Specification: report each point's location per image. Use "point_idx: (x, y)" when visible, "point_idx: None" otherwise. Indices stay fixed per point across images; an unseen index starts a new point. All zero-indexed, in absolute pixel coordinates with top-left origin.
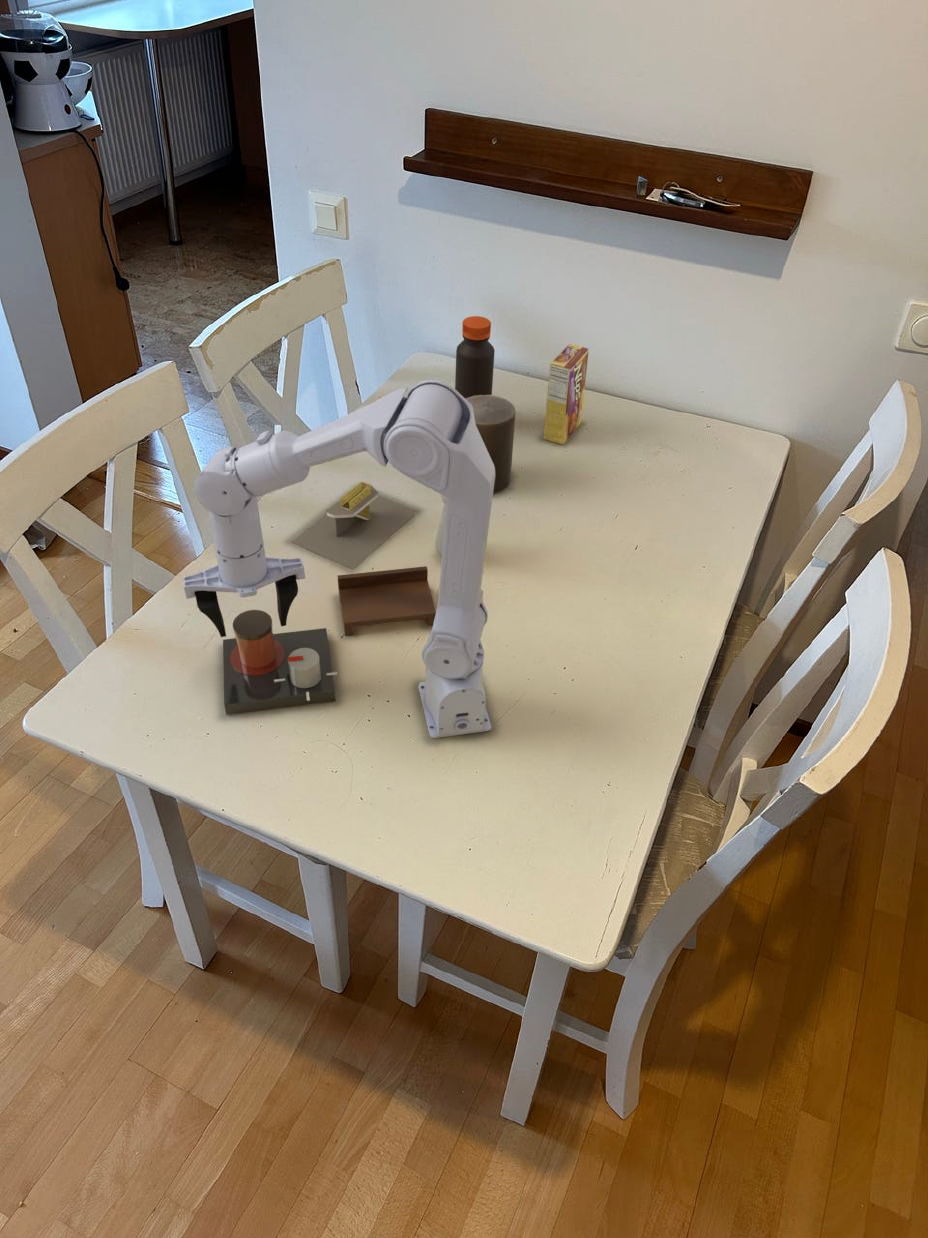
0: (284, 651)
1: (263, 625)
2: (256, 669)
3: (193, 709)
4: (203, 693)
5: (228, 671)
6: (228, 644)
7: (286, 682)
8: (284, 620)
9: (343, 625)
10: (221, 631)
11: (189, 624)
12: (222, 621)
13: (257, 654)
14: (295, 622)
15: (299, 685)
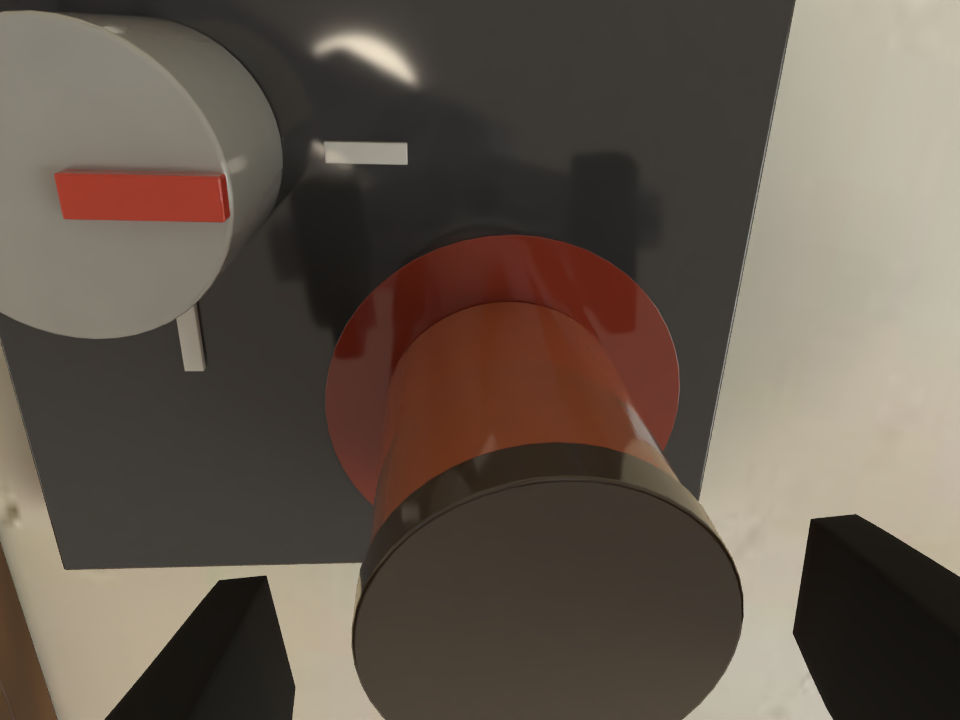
0: (327, 419)
1: (441, 599)
2: (524, 289)
3: (931, 83)
4: (840, 210)
5: (706, 305)
6: None
7: (314, 124)
8: (190, 636)
9: (9, 586)
10: (914, 563)
11: (791, 664)
12: (923, 687)
13: (516, 355)
14: (288, 629)
15: (192, 32)
